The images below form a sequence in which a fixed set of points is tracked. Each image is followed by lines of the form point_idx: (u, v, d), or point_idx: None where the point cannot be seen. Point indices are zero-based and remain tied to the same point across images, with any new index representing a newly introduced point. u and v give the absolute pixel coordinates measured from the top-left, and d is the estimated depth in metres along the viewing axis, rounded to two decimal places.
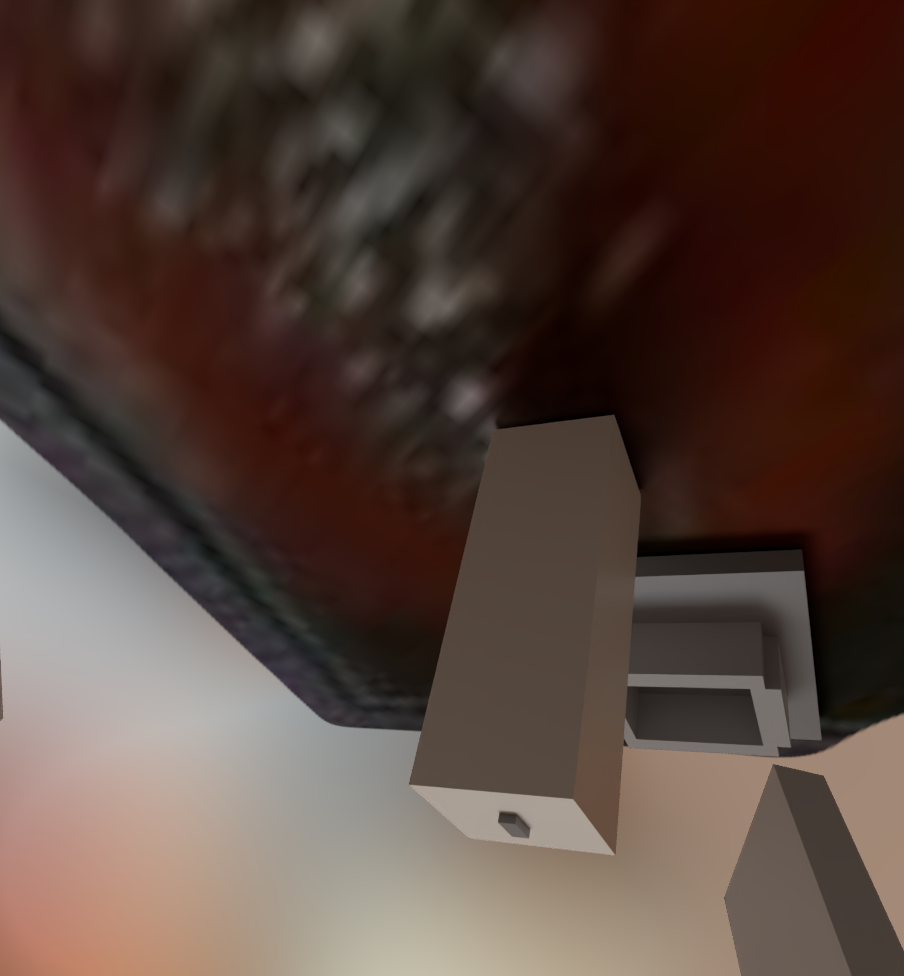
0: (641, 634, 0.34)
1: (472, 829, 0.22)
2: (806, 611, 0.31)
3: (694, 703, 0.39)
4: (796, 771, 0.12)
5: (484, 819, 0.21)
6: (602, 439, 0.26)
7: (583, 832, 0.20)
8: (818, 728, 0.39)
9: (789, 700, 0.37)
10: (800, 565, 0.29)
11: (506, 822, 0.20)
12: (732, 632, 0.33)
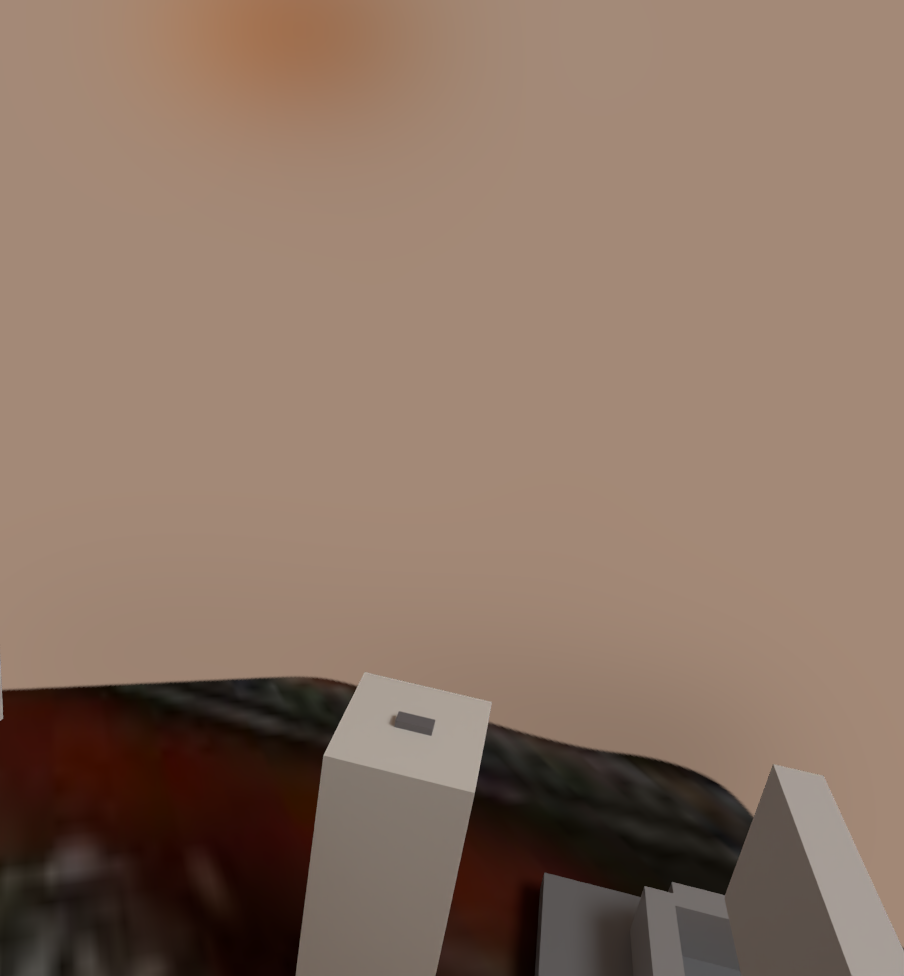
0: None
1: (443, 773, 0.22)
2: (609, 890, 0.34)
3: None
4: (796, 771, 0.12)
5: (412, 746, 0.23)
6: None
7: (436, 696, 0.26)
8: None
9: None
10: (543, 878, 0.35)
11: (397, 716, 0.24)
12: (634, 944, 0.31)
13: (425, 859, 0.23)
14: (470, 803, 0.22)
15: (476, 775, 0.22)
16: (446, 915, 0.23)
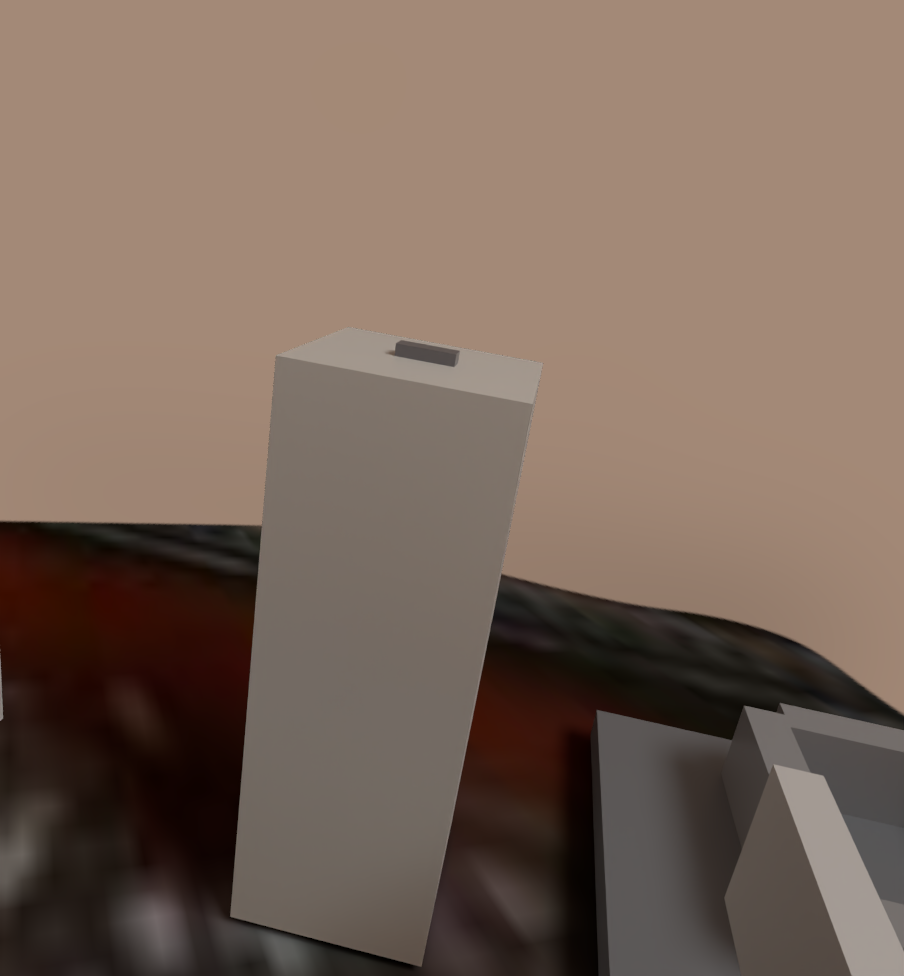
0: None
1: (478, 387, 0.13)
2: (686, 731, 0.25)
3: None
4: (796, 771, 0.12)
5: (424, 368, 0.14)
6: None
7: (458, 350, 0.17)
8: None
9: None
10: (595, 717, 0.26)
11: (398, 342, 0.15)
12: (732, 785, 0.22)
13: (447, 543, 0.14)
14: (525, 426, 0.13)
15: (532, 395, 0.13)
16: (481, 648, 0.14)
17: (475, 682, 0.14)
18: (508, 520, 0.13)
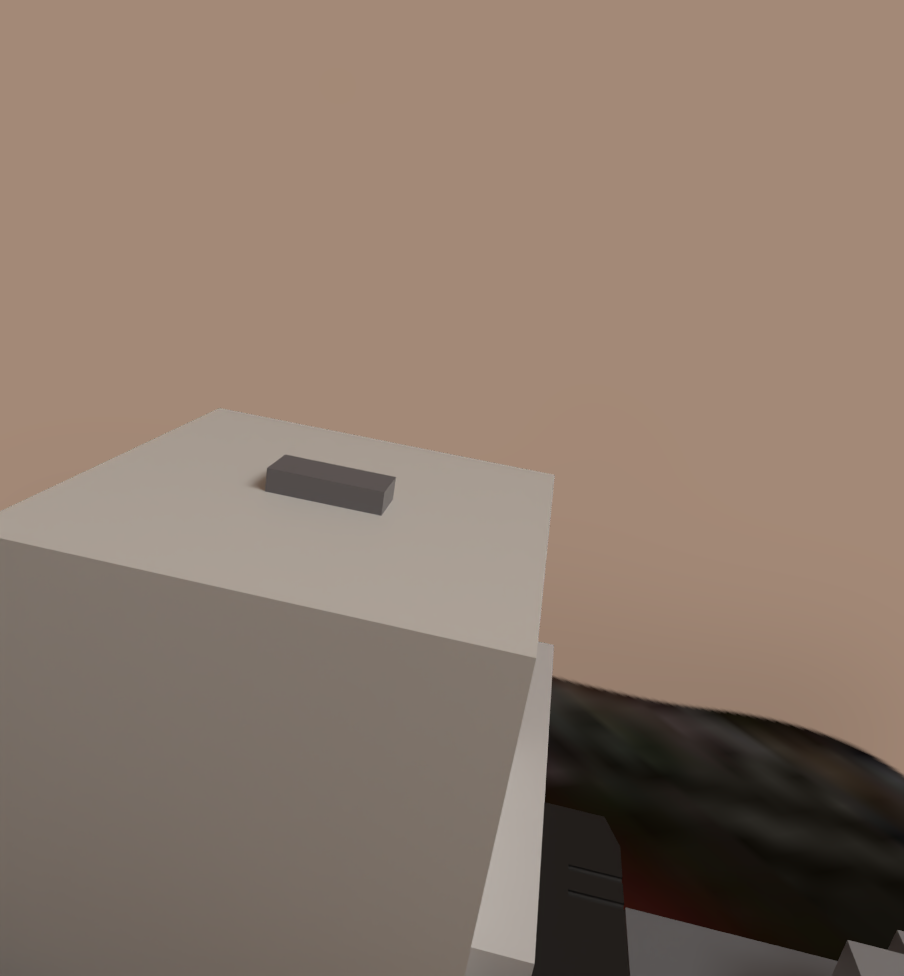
0: None
1: (416, 598, 0.06)
2: (751, 941, 0.18)
3: None
4: None
5: (312, 532, 0.07)
6: None
7: (405, 455, 0.09)
8: None
9: None
10: None
11: (276, 463, 0.08)
12: None
13: (354, 915, 0.06)
14: (518, 703, 0.06)
15: (535, 609, 0.06)
16: None
17: None
18: (481, 884, 0.06)
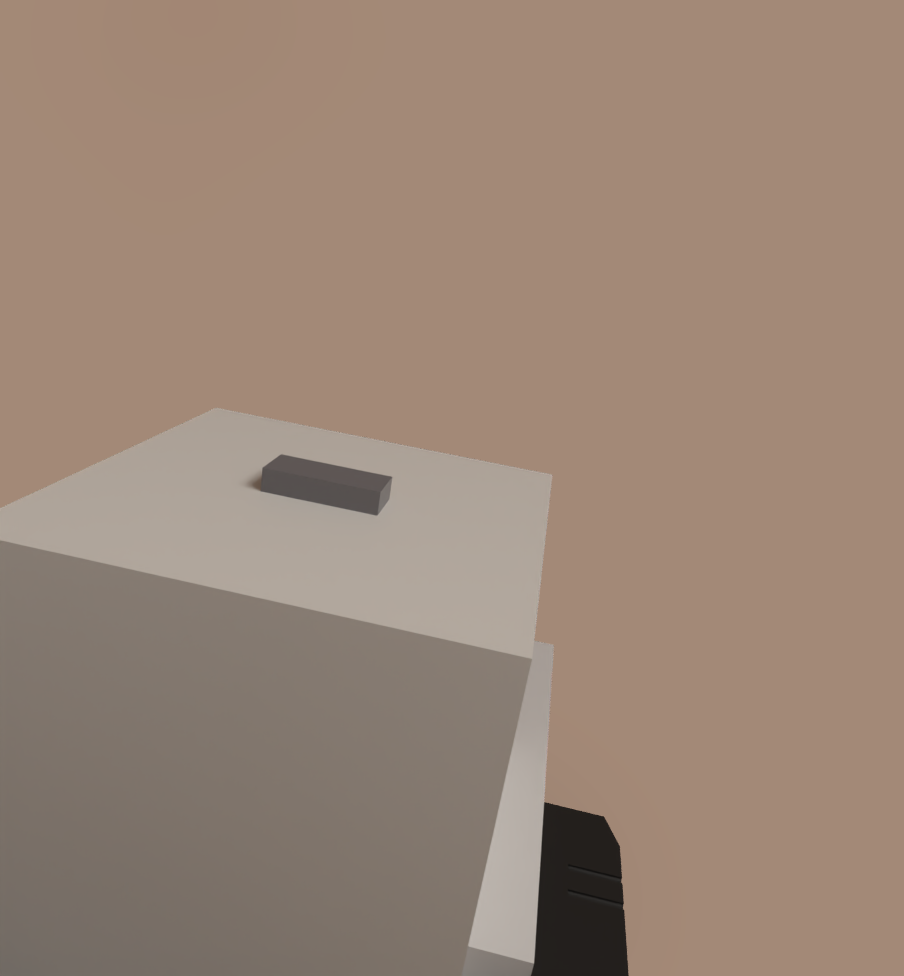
0: None
1: (411, 598, 0.06)
2: None
3: None
4: None
5: (308, 532, 0.07)
6: None
7: (402, 455, 0.09)
8: None
9: None
10: None
11: (272, 463, 0.08)
12: None
13: (350, 917, 0.06)
14: (514, 704, 0.06)
15: (531, 610, 0.06)
16: None
17: None
18: (477, 886, 0.06)
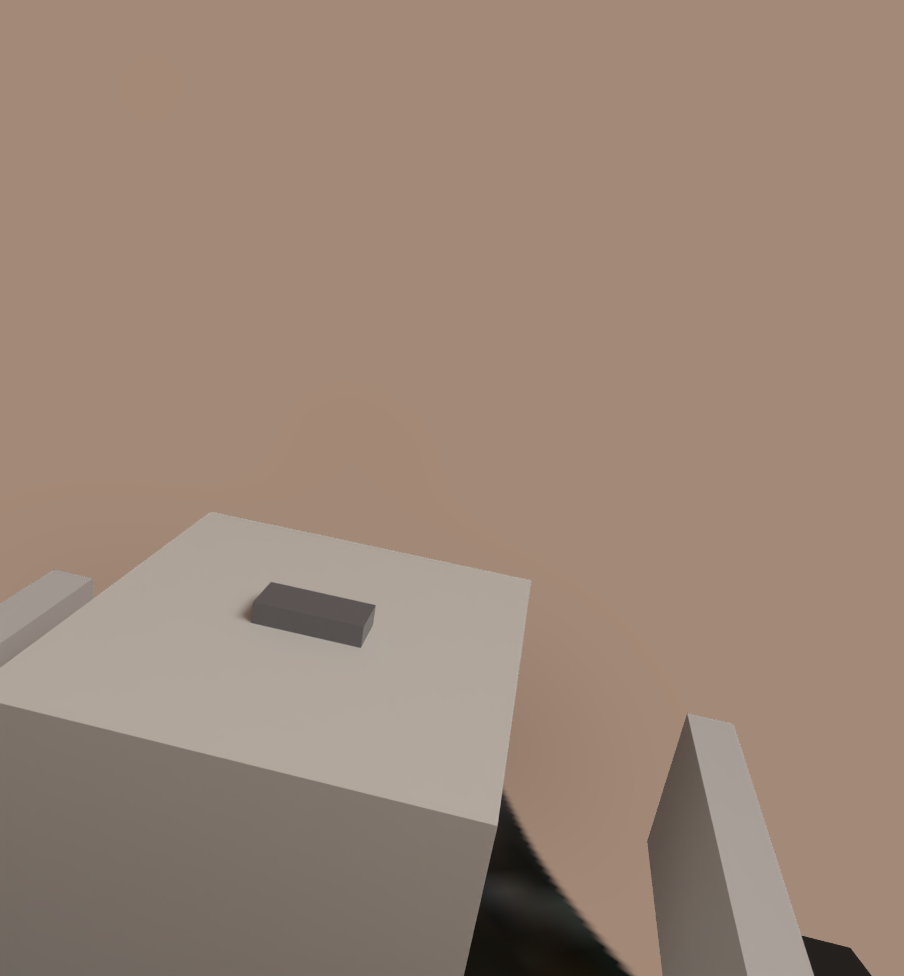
0: None
1: (388, 755, 0.06)
2: None
3: None
4: (708, 719, 0.12)
5: (294, 674, 0.07)
6: None
7: (387, 563, 0.10)
8: None
9: None
10: None
11: (262, 593, 0.08)
12: None
13: None
14: (481, 863, 0.06)
15: (500, 763, 0.07)
16: None
17: None
18: None
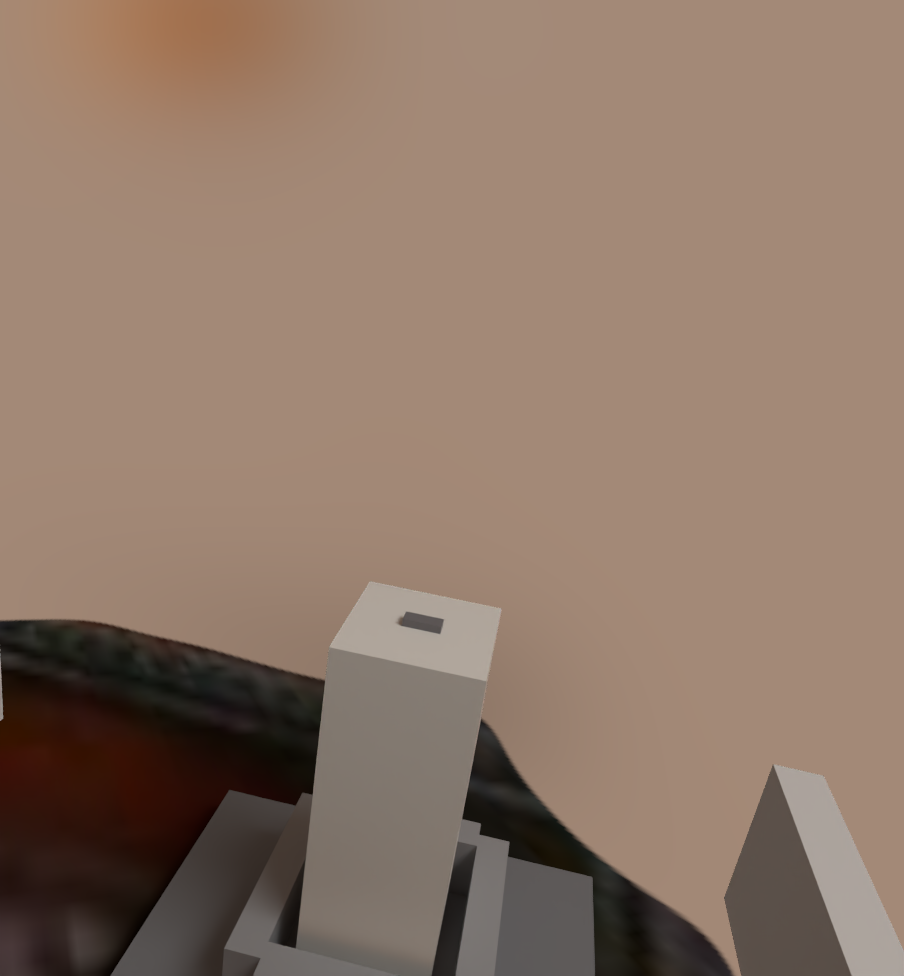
0: None
1: (454, 664, 0.21)
2: (293, 806, 0.33)
3: None
4: (796, 771, 0.12)
5: (420, 642, 0.22)
6: None
7: (444, 602, 0.25)
8: (557, 870, 0.32)
9: None
10: (228, 796, 0.33)
11: (404, 615, 0.23)
12: None
13: (436, 757, 0.22)
14: (482, 693, 0.21)
15: (487, 667, 0.22)
16: (458, 819, 0.22)
17: (455, 839, 0.23)
18: (473, 745, 0.22)
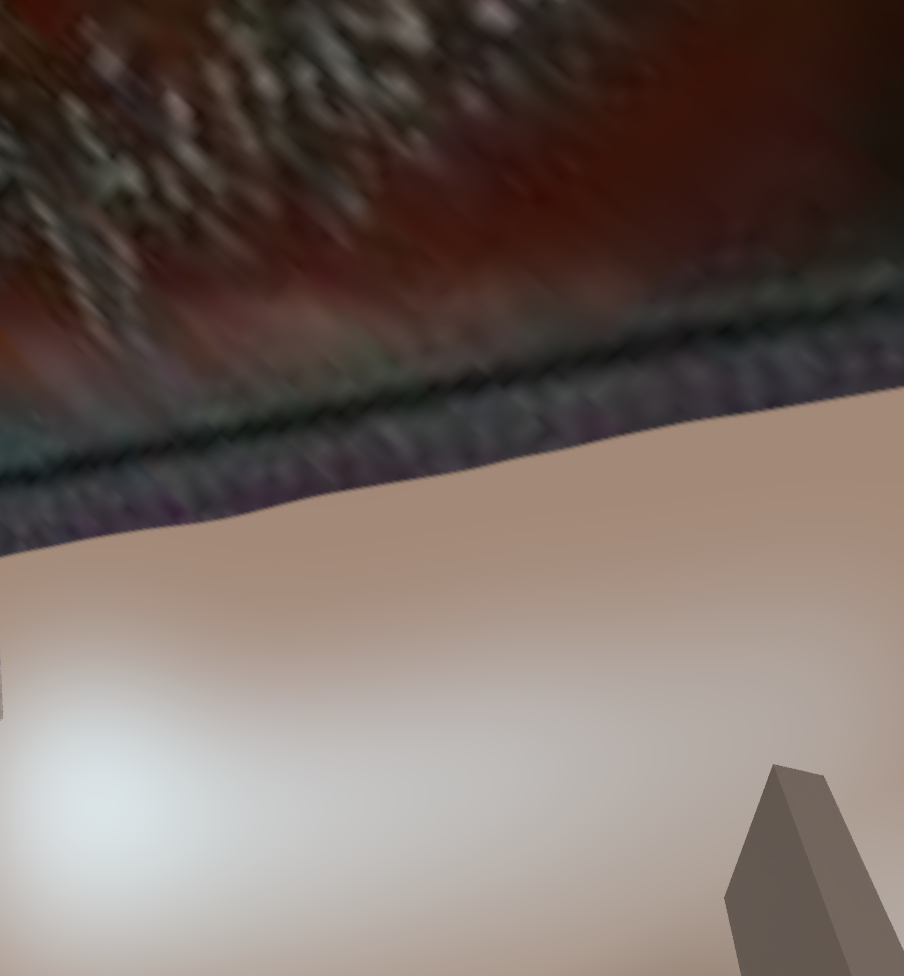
0: None
1: None
2: None
3: None
4: (796, 771, 0.12)
5: None
6: None
7: None
8: None
9: None
10: None
11: None
12: None
13: None
14: None
15: None
16: None
17: None
18: None
